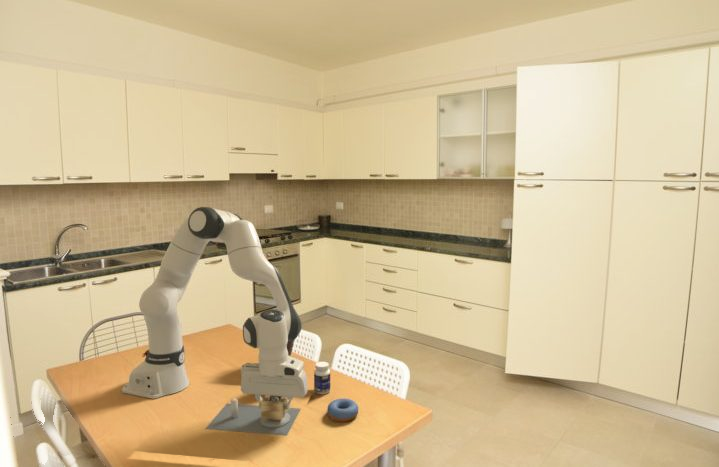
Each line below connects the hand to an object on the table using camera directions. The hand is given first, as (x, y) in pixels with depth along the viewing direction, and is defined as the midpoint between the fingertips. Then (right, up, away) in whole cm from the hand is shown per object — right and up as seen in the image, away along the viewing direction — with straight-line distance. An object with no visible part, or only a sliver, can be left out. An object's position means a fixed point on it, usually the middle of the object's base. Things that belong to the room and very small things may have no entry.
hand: (274, 407), depth 137 cm
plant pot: (-7, 0, +42) cm, 42 cm away
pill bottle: (+13, -3, +22) cm, 26 cm away
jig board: (-6, -5, +2) cm, 8 cm away
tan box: (0, -2, 0) cm, 2 cm away
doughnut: (+20, -5, +6) cm, 22 cm away
